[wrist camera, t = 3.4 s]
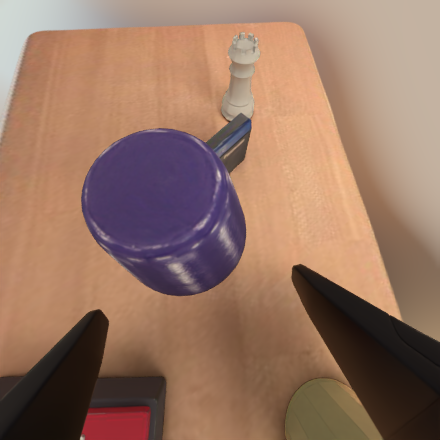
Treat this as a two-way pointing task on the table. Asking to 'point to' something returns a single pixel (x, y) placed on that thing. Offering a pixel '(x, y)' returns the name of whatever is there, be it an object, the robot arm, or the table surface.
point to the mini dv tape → (232, 141)
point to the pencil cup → (328, 413)
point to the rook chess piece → (241, 77)
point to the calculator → (119, 408)
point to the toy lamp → (165, 211)
